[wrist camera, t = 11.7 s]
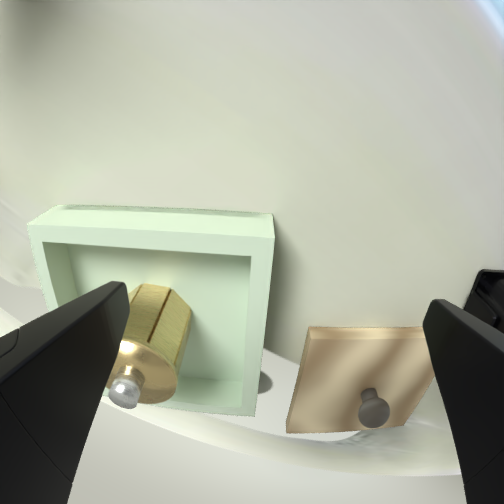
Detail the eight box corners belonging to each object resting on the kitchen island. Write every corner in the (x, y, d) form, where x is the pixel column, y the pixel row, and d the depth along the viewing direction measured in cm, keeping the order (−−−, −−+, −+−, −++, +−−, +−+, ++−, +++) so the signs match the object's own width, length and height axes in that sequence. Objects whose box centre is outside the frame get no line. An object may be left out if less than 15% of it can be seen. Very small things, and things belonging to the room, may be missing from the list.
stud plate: (449, 325, 25) (474, 365, 20) (400, 415, 31) (411, 452, 26) (308, 326, 25) (317, 376, 20) (285, 422, 31) (287, 464, 26)
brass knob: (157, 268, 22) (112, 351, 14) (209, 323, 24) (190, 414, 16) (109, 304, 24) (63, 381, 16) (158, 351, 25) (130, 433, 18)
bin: (272, 213, 21) (274, 238, 17) (255, 382, 28) (254, 416, 25) (56, 205, 21) (26, 224, 17) (93, 361, 28) (79, 389, 24)
